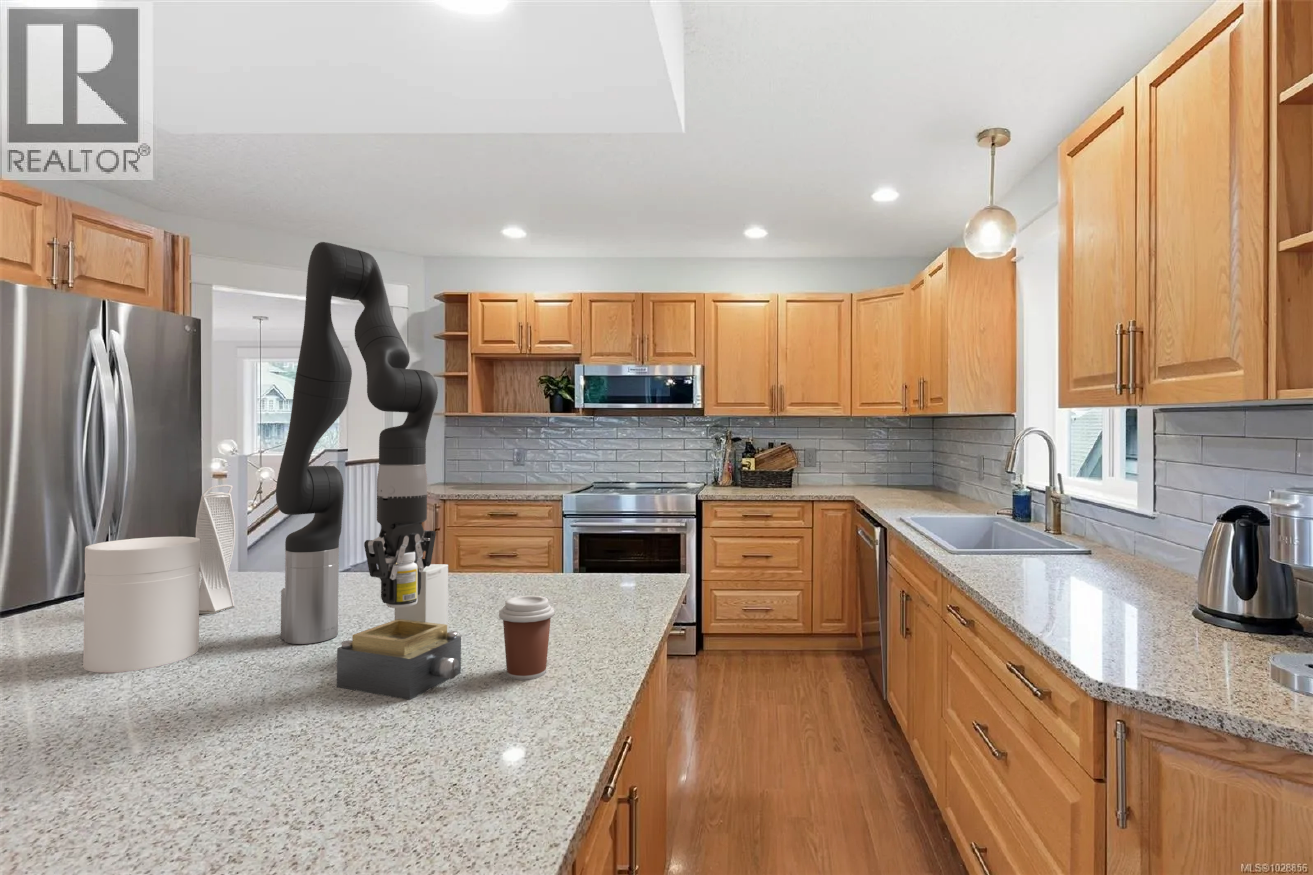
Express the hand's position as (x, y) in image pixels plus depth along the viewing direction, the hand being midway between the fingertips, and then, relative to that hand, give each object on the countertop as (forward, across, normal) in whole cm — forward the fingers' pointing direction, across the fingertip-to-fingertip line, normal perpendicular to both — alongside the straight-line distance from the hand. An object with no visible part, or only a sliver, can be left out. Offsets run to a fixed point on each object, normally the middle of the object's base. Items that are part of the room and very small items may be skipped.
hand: (401, 598), depth 105 cm
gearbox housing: (+13, 0, +2) cm, 13 cm away
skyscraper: (+13, -20, -70) cm, 74 cm away
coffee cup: (+13, -10, +17) cm, 24 cm away
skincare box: (+13, -12, -6) cm, 19 cm away
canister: (+13, +7, -50) cm, 52 cm away
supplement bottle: (+1, 0, 0) cm, 1 cm away
